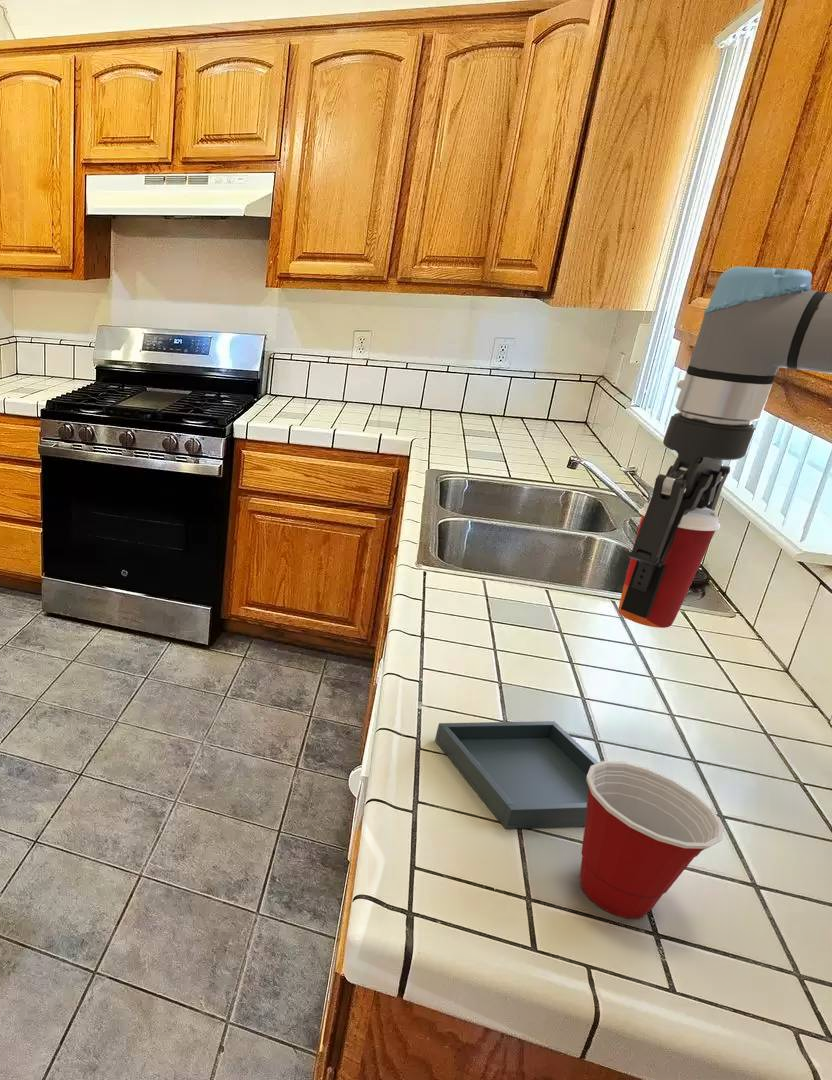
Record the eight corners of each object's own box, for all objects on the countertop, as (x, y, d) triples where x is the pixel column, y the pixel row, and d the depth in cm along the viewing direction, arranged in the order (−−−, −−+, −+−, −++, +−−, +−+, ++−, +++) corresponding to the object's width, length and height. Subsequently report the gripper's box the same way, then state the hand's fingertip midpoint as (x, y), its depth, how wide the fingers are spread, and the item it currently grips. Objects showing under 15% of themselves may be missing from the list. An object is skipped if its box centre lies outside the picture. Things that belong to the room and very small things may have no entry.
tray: (638, 824, 83) (645, 805, 82) (505, 829, 81) (511, 810, 80) (549, 737, 97) (554, 720, 96) (434, 740, 96) (438, 722, 95)
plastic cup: (691, 964, 66) (739, 859, 62) (553, 911, 71) (588, 810, 67) (675, 881, 75) (716, 784, 71) (553, 839, 80) (585, 745, 76)
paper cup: (682, 615, 92) (722, 507, 87) (683, 638, 86) (726, 524, 81) (608, 596, 96) (642, 492, 91) (604, 618, 90) (640, 507, 85)
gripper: (709, 404, 90) (649, 579, 99) (636, 417, 80) (575, 611, 88) (787, 417, 84) (716, 601, 93) (719, 433, 74) (646, 639, 83)
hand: (647, 606), depth 91 cm, fingers closed on paper cup, 6 cm apart
